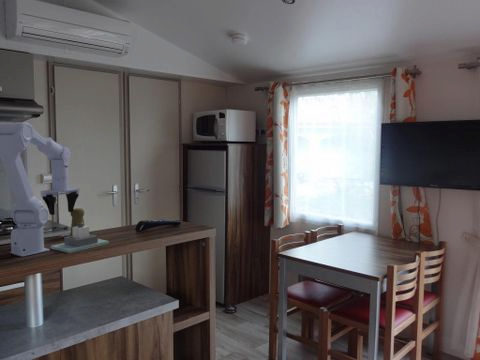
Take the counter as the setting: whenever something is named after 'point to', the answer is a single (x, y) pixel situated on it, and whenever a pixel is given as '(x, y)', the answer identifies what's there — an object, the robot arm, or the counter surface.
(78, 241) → the socket
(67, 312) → the counter surface
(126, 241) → the counter surface
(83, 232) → the plug
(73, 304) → the counter surface
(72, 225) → the cork
